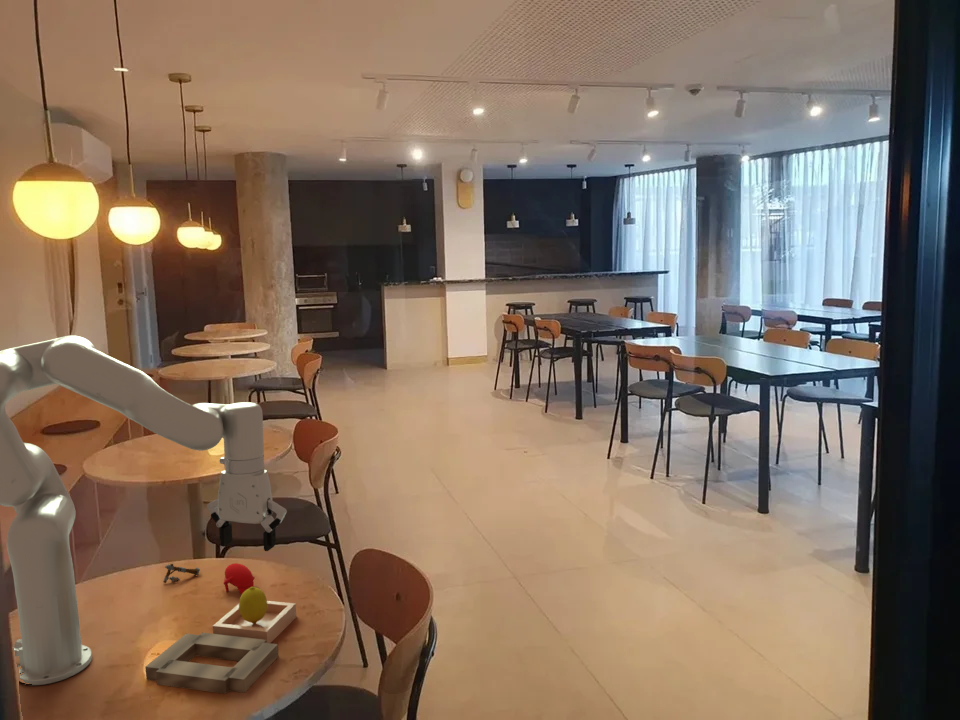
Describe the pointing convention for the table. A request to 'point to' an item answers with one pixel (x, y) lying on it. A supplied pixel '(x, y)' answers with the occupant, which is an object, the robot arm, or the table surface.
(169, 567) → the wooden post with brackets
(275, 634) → the tray
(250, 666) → the rectangular open frame
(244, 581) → the cap
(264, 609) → the lemon
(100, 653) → the table surface
